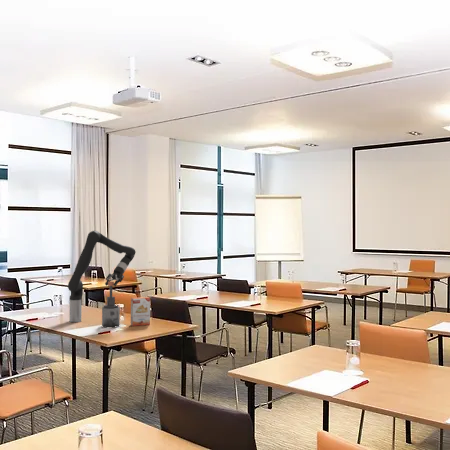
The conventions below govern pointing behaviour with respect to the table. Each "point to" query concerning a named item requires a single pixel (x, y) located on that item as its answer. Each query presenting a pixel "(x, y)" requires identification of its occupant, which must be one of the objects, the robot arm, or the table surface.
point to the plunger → (111, 287)
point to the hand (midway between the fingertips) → (110, 285)
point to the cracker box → (140, 311)
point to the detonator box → (110, 313)
